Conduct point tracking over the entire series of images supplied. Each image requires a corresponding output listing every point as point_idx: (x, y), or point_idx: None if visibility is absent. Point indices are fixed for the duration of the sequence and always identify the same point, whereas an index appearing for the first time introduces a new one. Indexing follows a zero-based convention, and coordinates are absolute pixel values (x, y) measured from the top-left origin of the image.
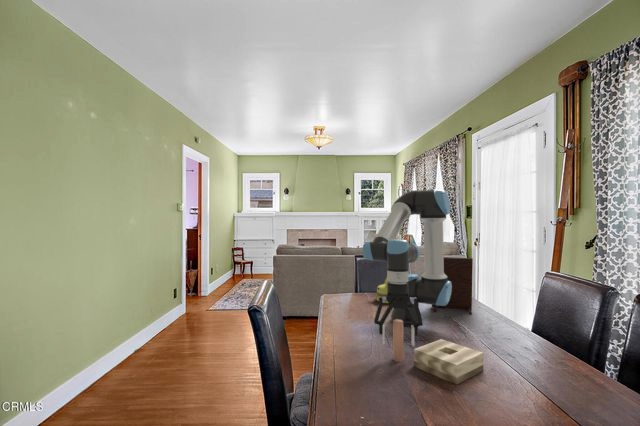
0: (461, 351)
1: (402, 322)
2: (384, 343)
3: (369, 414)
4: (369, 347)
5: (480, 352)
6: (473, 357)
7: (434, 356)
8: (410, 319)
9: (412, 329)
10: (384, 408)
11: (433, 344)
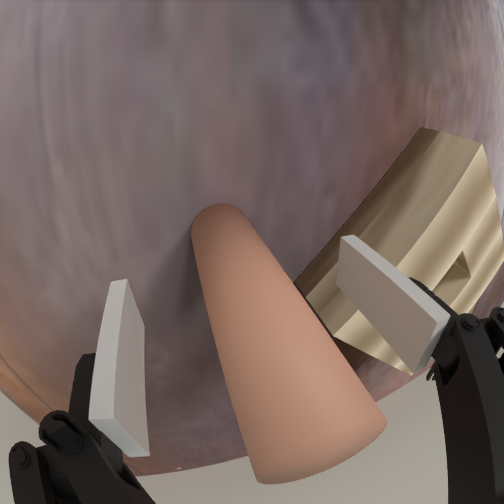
0: (476, 274)
1: (362, 442)
2: (142, 333)
3: (187, 464)
4: (28, 102)
5: (501, 260)
6: (473, 303)
7: (385, 360)
8: (444, 432)
9: (405, 362)
10: (209, 453)
11: (439, 234)
